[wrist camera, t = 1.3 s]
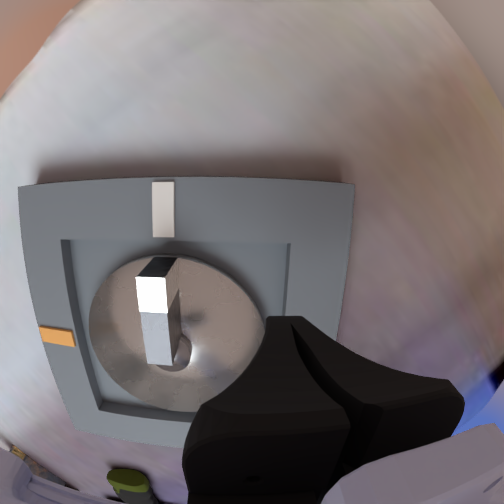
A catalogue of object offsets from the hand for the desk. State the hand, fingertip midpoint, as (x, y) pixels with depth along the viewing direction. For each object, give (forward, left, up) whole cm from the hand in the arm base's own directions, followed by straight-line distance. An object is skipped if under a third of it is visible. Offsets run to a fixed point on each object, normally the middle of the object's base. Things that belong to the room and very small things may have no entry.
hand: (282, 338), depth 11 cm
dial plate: (-5, +6, -9) cm, 12 cm away
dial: (-5, +6, -8) cm, 11 cm away
